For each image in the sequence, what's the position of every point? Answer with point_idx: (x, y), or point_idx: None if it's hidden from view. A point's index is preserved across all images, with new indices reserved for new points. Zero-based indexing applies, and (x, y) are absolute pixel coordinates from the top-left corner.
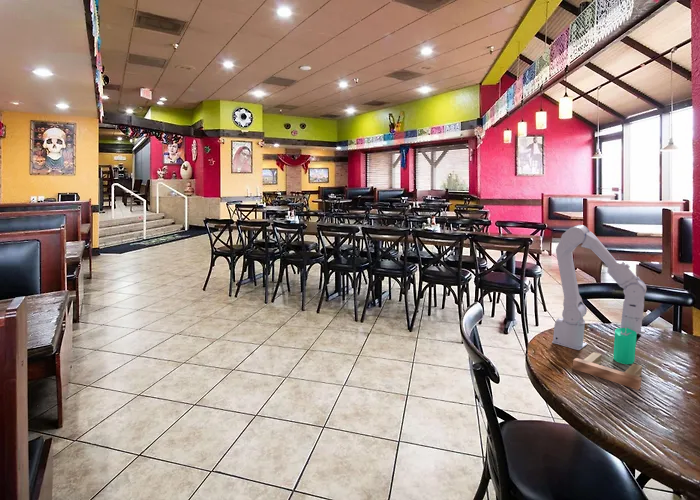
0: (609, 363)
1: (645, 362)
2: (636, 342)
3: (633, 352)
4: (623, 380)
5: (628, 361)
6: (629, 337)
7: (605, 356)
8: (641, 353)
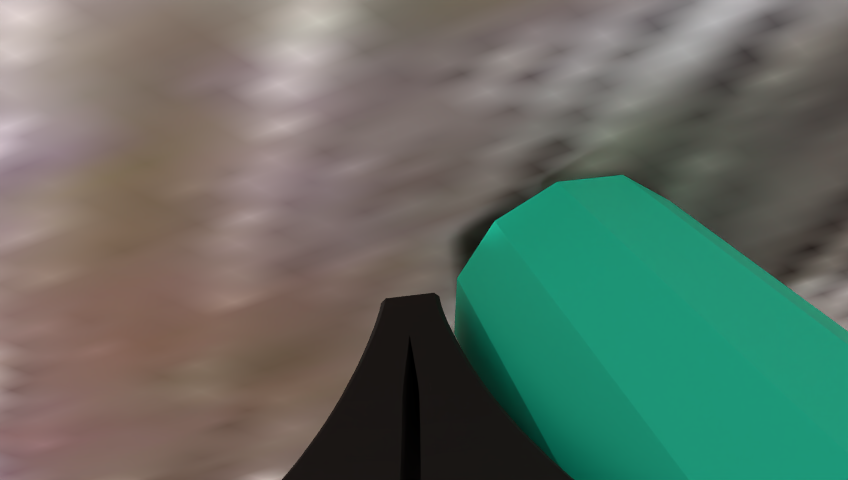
0: None
1: (368, 88)
2: (332, 438)
3: (744, 282)
4: None
5: (691, 220)
6: None
7: None
8: (72, 251)
